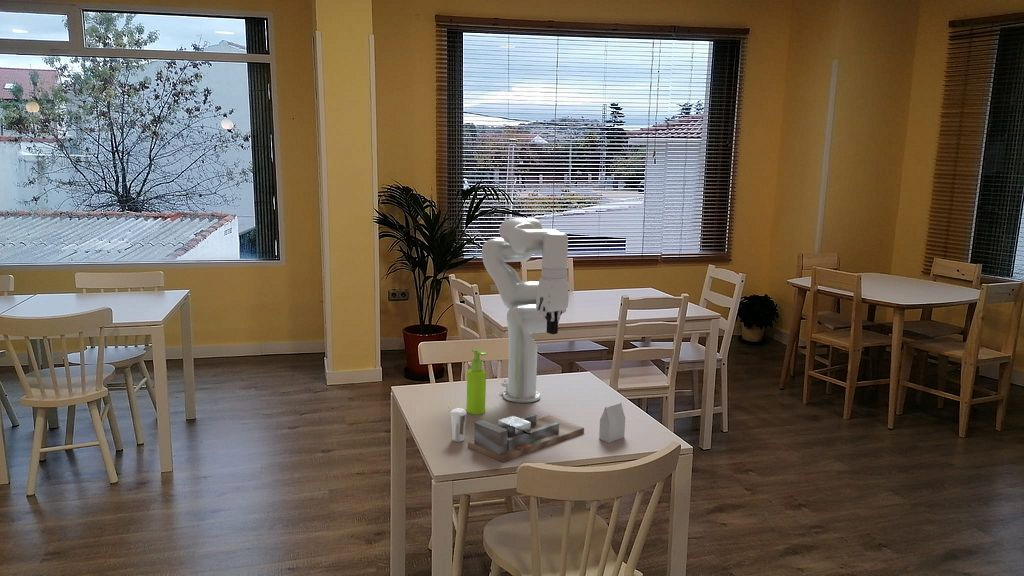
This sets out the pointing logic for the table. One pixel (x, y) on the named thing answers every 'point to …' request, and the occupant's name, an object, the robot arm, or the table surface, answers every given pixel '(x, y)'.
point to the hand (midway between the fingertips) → (552, 333)
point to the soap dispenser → (476, 385)
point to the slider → (515, 426)
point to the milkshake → (458, 424)
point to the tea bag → (612, 423)
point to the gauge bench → (521, 437)
